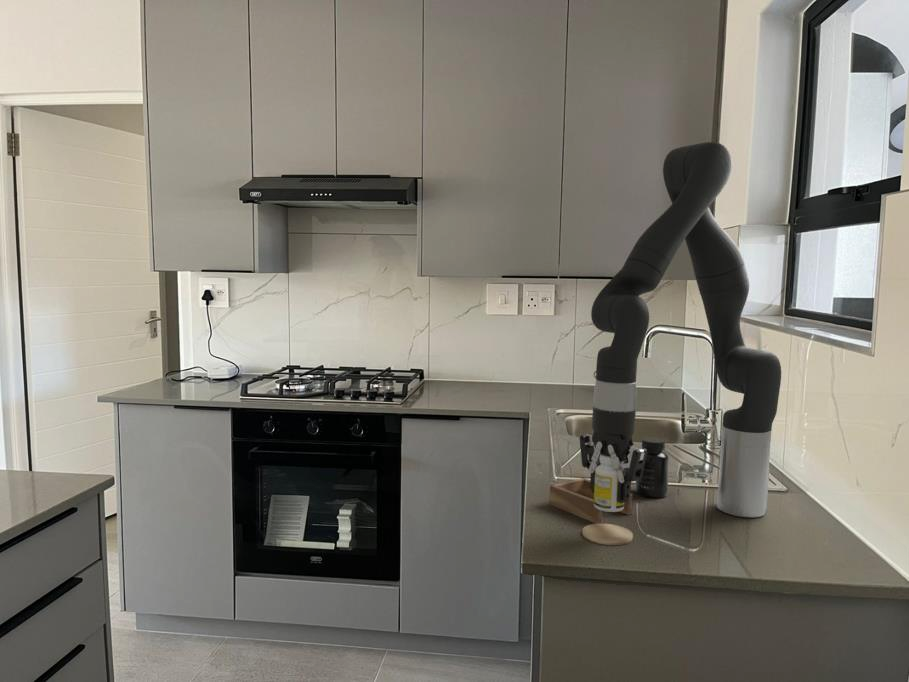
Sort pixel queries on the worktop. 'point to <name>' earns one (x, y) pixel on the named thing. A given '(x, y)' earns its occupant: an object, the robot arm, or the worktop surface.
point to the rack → (579, 500)
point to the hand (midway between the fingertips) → (609, 496)
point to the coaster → (607, 534)
